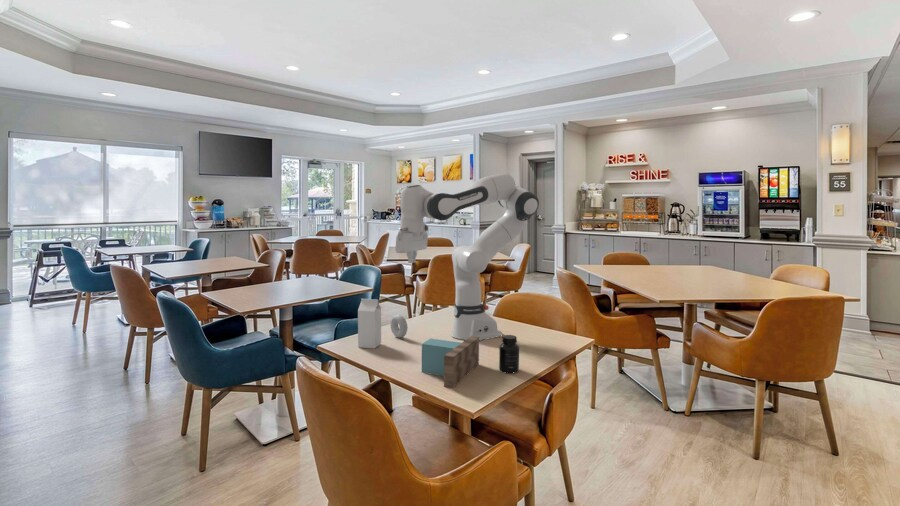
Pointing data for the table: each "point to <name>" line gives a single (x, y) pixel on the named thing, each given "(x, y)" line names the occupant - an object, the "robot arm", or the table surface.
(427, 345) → the teal block
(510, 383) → the table surface
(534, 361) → the table surface
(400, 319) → the donut
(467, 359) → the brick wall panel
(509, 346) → the supplement bottle
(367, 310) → the milk carton
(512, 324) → the table surface
